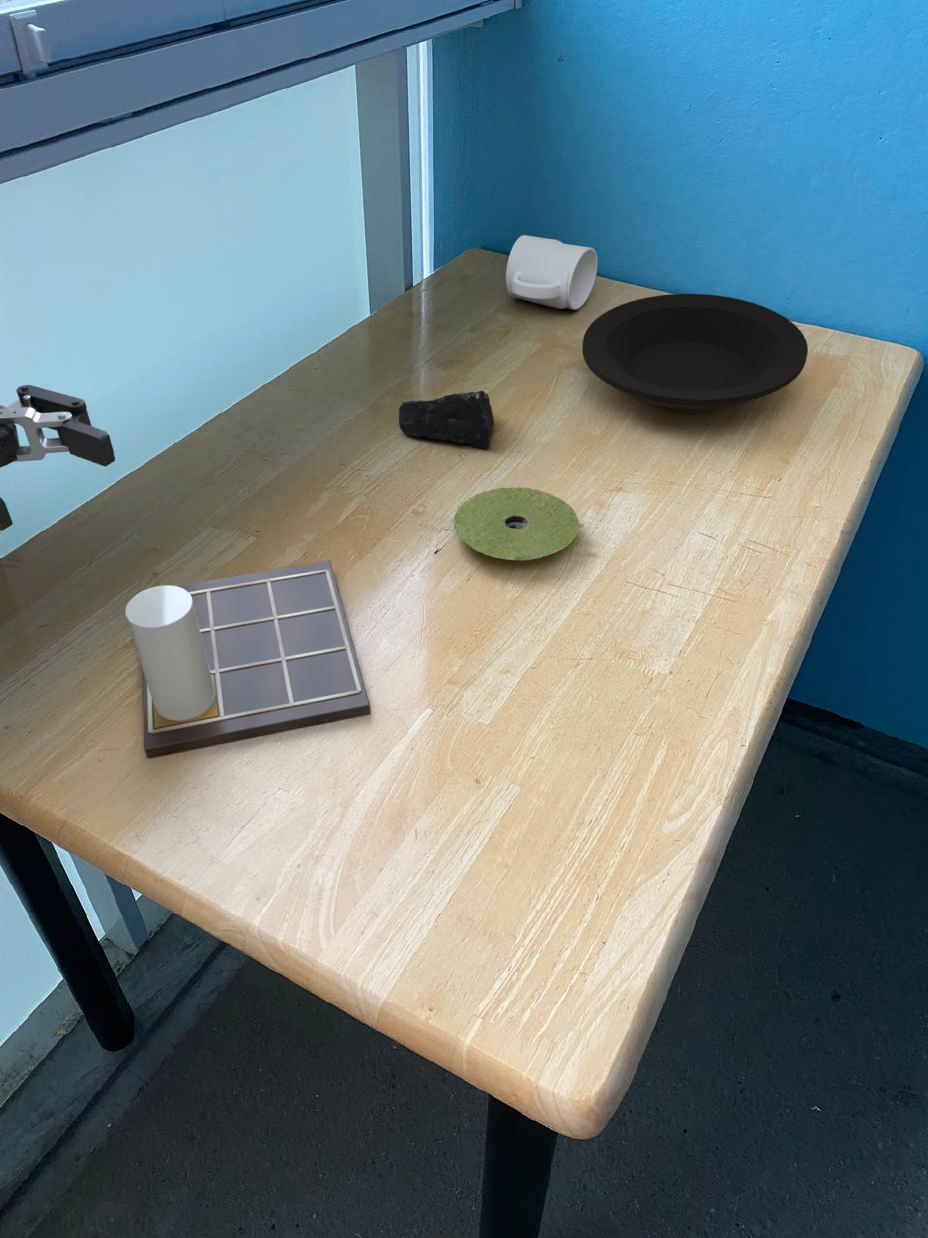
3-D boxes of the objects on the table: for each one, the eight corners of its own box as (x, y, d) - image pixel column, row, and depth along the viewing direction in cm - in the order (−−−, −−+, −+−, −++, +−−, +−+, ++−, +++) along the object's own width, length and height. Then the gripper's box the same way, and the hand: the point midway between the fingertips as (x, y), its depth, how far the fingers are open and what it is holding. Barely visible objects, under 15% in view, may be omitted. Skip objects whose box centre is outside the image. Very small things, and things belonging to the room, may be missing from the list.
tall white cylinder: (155, 726, 66) (125, 632, 60) (153, 684, 69) (124, 591, 64) (218, 714, 67) (194, 620, 61) (213, 673, 70) (190, 580, 64)
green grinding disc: (567, 584, 80) (568, 566, 79) (440, 566, 82) (440, 548, 81) (585, 512, 88) (586, 494, 87) (469, 496, 90) (469, 479, 89)
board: (147, 759, 65) (143, 748, 65) (142, 600, 79) (139, 590, 78) (370, 714, 69) (369, 704, 68) (331, 568, 82) (329, 558, 81)
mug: (532, 283, 130) (535, 224, 125) (594, 296, 127) (600, 236, 122) (493, 314, 122) (495, 253, 117) (559, 329, 119) (563, 266, 114)
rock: (412, 408, 103) (410, 359, 100) (503, 419, 102) (504, 369, 98) (394, 440, 98) (392, 389, 94) (489, 452, 96) (490, 401, 93)
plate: (747, 472, 93) (759, 423, 90) (537, 411, 103) (540, 364, 99) (824, 365, 111) (836, 320, 108) (639, 321, 121) (645, 278, 117)
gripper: (-230, 415, 58) (-59, 485, 52) (-38, 330, 68) (127, 382, 62) (-176, 514, 63) (-14, 589, 57) (-4, 423, 73) (152, 478, 67)
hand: (59, 481), depth 59 cm, fingers open, 8 cm apart
